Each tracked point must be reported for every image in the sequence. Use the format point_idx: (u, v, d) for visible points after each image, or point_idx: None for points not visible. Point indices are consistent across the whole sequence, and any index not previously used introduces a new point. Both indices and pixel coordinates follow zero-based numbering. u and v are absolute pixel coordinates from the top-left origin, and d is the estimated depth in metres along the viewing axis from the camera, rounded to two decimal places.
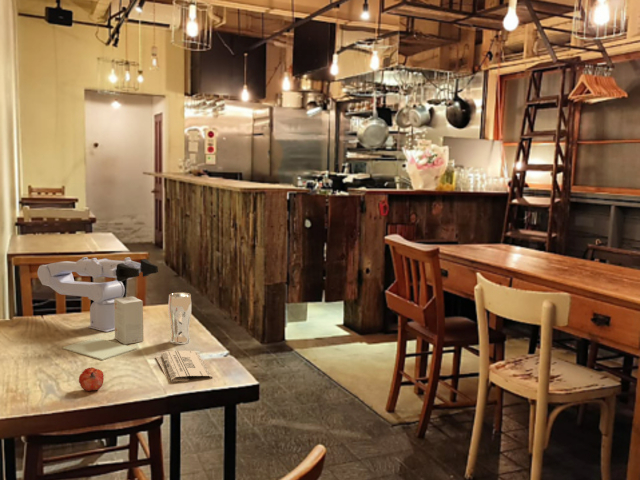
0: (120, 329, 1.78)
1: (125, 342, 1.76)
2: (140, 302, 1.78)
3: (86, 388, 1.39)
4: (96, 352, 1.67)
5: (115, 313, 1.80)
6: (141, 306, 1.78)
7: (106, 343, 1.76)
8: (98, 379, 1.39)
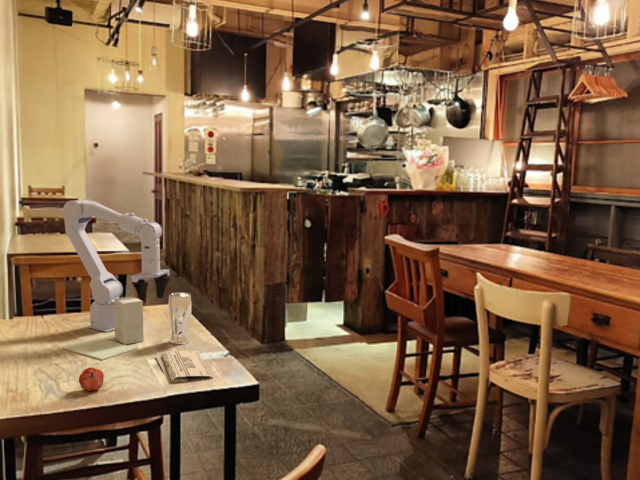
0: (120, 329, 1.78)
1: (125, 342, 1.76)
2: (140, 302, 1.78)
3: (86, 388, 1.39)
4: (96, 352, 1.67)
5: (115, 313, 1.80)
6: (141, 306, 1.78)
7: (106, 343, 1.76)
8: (97, 379, 1.39)
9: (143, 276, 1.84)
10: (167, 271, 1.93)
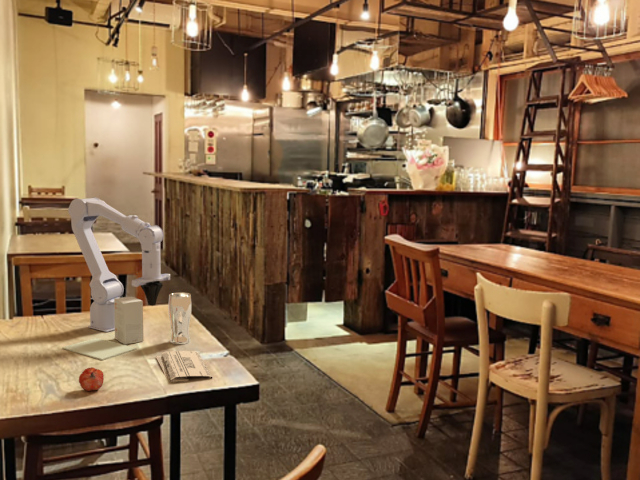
0: (120, 329, 1.78)
1: (125, 342, 1.76)
2: (140, 302, 1.78)
3: (86, 388, 1.39)
4: (96, 352, 1.67)
5: (115, 313, 1.80)
6: (141, 306, 1.78)
7: (106, 343, 1.76)
8: (98, 379, 1.39)
9: (143, 281, 1.82)
10: (168, 275, 1.91)
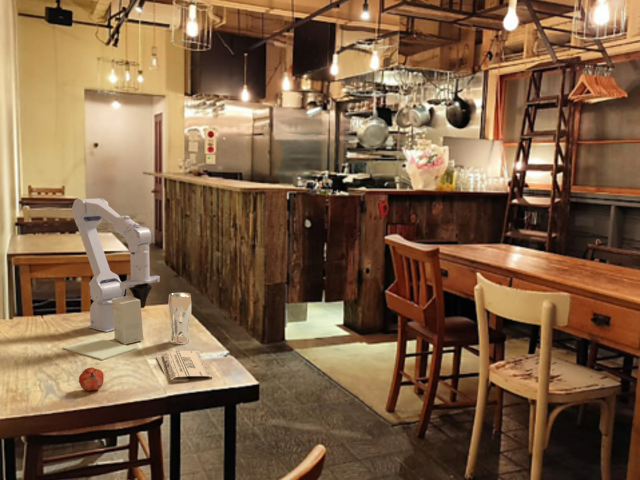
0: (119, 329, 1.77)
1: (125, 342, 1.76)
2: (138, 301, 1.77)
3: (86, 388, 1.39)
4: (96, 352, 1.67)
5: (113, 313, 1.80)
6: (139, 305, 1.77)
7: (106, 343, 1.76)
8: (98, 379, 1.39)
9: (132, 283, 1.78)
10: (157, 277, 1.87)
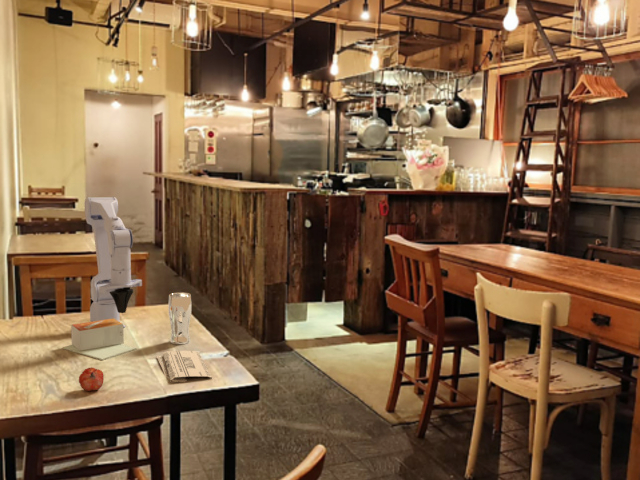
0: None
1: (121, 342, 1.75)
2: (80, 333, 1.67)
3: (86, 388, 1.39)
4: (96, 352, 1.67)
5: None
6: (85, 331, 1.68)
7: None
8: (98, 379, 1.39)
9: (112, 287, 1.72)
10: (139, 281, 1.81)
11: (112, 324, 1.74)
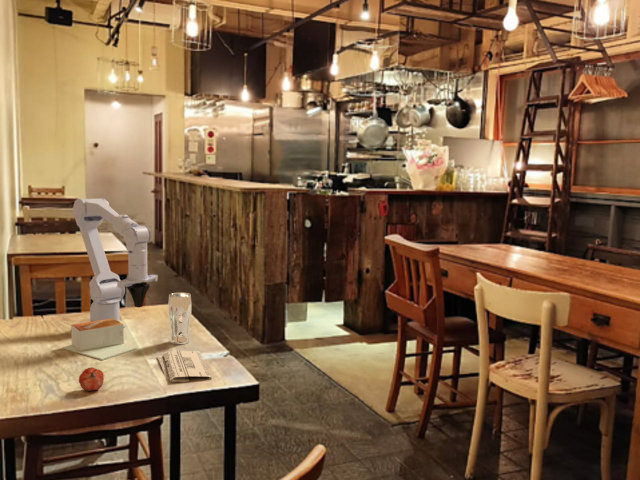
0: None
1: (121, 342, 1.75)
2: (80, 333, 1.67)
3: (86, 388, 1.39)
4: (96, 352, 1.67)
5: None
6: (85, 331, 1.68)
7: None
8: (98, 379, 1.39)
9: (129, 282, 1.77)
10: (155, 276, 1.86)
11: (112, 324, 1.74)
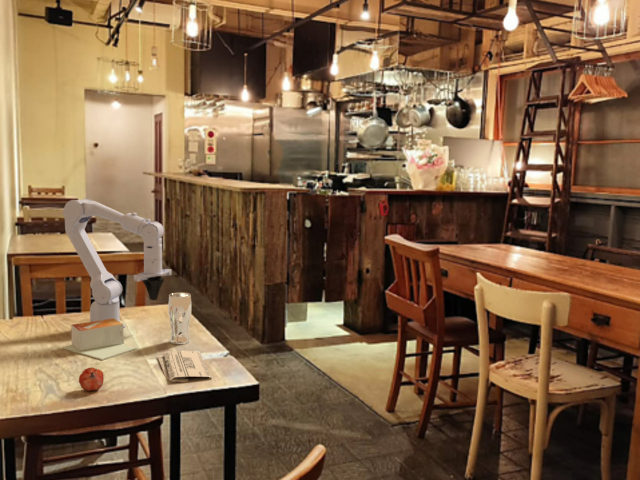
0: None
1: (121, 342, 1.75)
2: (80, 333, 1.67)
3: (86, 388, 1.39)
4: (96, 352, 1.67)
5: None
6: (85, 331, 1.68)
7: None
8: (98, 379, 1.39)
9: (145, 276, 1.85)
10: (169, 271, 1.94)
11: (112, 324, 1.74)
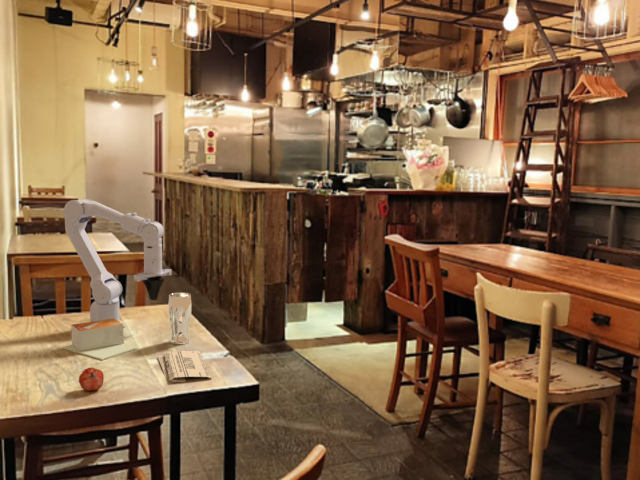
0: None
1: (121, 342, 1.75)
2: (80, 333, 1.67)
3: (86, 388, 1.39)
4: (96, 352, 1.67)
5: None
6: (85, 331, 1.68)
7: None
8: (98, 379, 1.39)
9: (145, 276, 1.85)
10: (169, 271, 1.94)
11: (112, 324, 1.74)
